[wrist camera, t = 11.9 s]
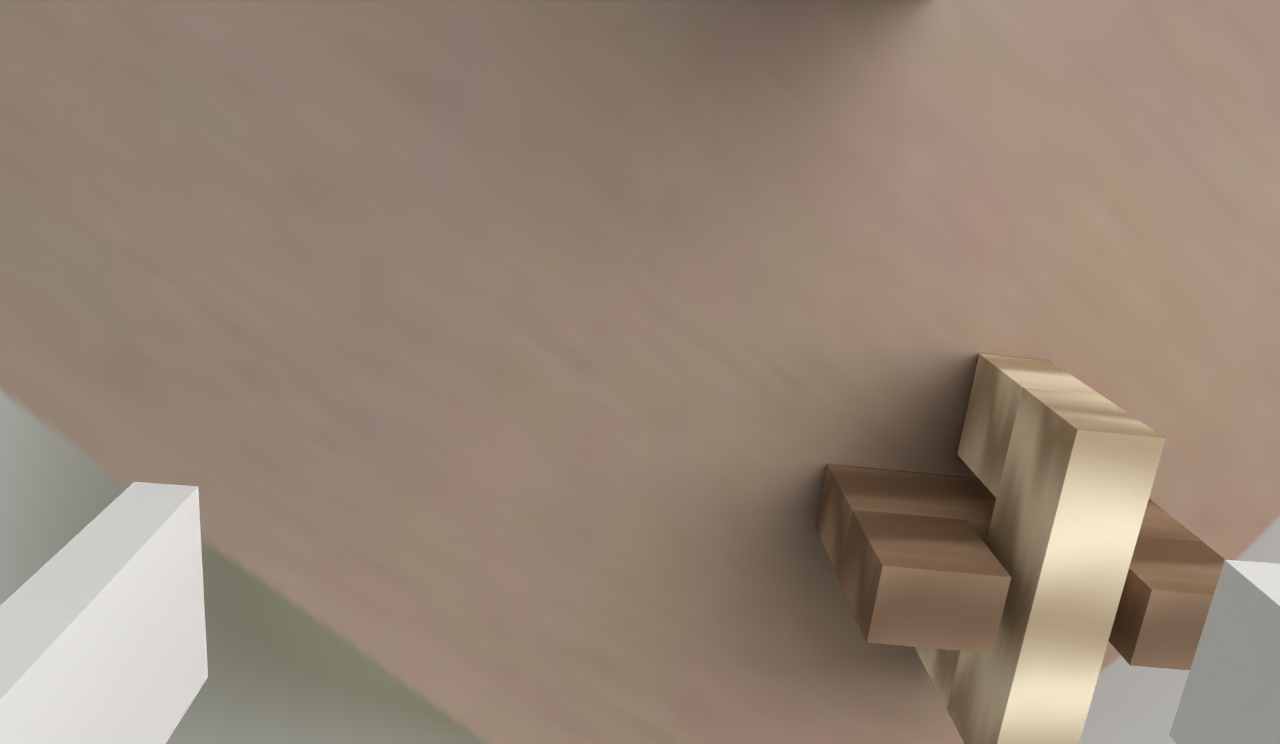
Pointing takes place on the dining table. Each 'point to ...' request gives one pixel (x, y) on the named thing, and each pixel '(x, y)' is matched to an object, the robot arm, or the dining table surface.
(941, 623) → the slotted base
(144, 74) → the dining table surface
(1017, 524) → the cross plate
